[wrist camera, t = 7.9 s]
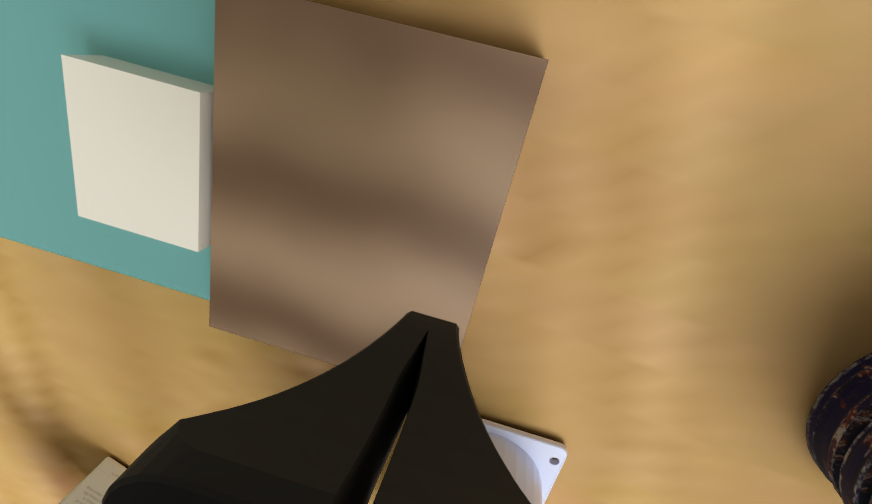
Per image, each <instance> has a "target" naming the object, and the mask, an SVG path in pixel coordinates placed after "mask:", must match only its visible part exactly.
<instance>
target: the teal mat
mask: <svg viewBox="0 0 872 504" xmlns="http://www.w3.org/2000/svg"><path fill="white" fill-rule="evenodd" d="M214 42H215V0H0V237H2V238H6V239H9V240H12V241H16V242H19V243H22V244H26V245H29V246H32V247H35V248H39V249H42V250H45V251H49V252H52V253H55V254H58V255H62V256H65V257H68V258H72V259H75V260H78V261H81V262H85V263H88V264H91V265H95V266H98V267H101V268H105V269H108V270H111V271H114V272H118V273H121V274H124V275H128V276H131V277H134V278H137V279H141V280H144V281H147V282H151V283H154V284H157V285H160V286H164V287H167V288H170V289H174V290H177V291H180V292H184V293H187V294H190V295H193V296H197V297H200V298H203V299H207V300H210V263H211V245H210V246H208V247H206V248H205V249H203V250H201V251H199V252H196V251H193V250H189V249H186V248H183V247H179V246H176V245H173V244H169V243H166V242H163V241H160V240H156V239H153V238H150V237H146V236H143V235H140V234H136V233H133V232H130V231H127V230H123V229H120V228H117V227H113V226H110V225H107V224H103V223H100V222H97V221H93V220H90V219H87V218H84V217H80V216H78V209H77V200H76V190H75V181H74V171H73V162H72V153H71V143H70V134H69V124H68V115H67V106H66V96H65V87H64V78H63V68H62V59H61V54H67V55H104V56H108V57H111V58H115V59H119V60H122V61H126V62H130V63H133V64H137V65H141V66H144V67H148V68H152V69H155V70H159V71H163V72H166V73H170V74H174V75H177V76H181V77H185V78H188V79H192V80H195V81H199V82H203V83H206V84H210V85H214Z"/></svg>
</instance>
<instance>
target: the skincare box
mask: <svg viewBox="0 0 872 504" xmlns="http://www.w3.org/2000/svg"><path fill="white" fill-rule="evenodd" d="M126 469H127V468H126V467H124V466H123V465H121V464H120V463H118V462H117V461H115V460H114V459H112V458H111V457H106V458H105V459H104V460H103V461H102V462H101V463H100V464H99V465H98V466H97V467H96V468H95V469H94V470H93V471H92V472H91V473H90V474H89V475H88V476H87V477H86V478H85V479H84V480H83V481H81V482H80V483H79V484H78V485H77V486H76V487H75V488H74V489H73V490H72V491H71V492H70V493H69V494H68V495H67V496H66V497H65V498H64V499H63V500H62V501H61V502H60V503H59V504H102V499H103V497H104V495H105V493H106V491H107V489H108V488H109V486H110V485H111V484H112V483H113V482H114V481H115V480H116V479H117V478H118V477H119V476H120V475H121V474H122V473H123V472H124V471H125V470H126Z"/></svg>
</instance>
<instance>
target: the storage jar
mask: <svg viewBox="0 0 872 504" xmlns="http://www.w3.org/2000/svg"><path fill="white" fill-rule="evenodd" d="M806 438H807V444H808V449H809V451H810V453H811V456H812V458H813V460H814V461H815V463H816V464H817V466H818V467H819V468H820V470H821V471H822V472H823V474H824V475H825V476H826V478H827V479H828V480H829V481H830V482H831V483H832V484H833V486H834V488H835V490H836V491H837V493H838V494H839V495H840V497H841V498H842V500H843V503H844V504H872V353H871V354H869V355H867V356H865V357H863V358H862V359H860V360H858V361H856V362H855V363H853V364H852V365H850V366H849V367H848V368H846V369H845V370H844V371H842V372H841V373H840V374H838V375H837V376H836V377H835V378H834V379H833V380H832V381H831V382H830V383H829V384H828V385H827V386H826V387H825V389H824V390H823V391H822V393H821V394H820V395H819V396H818V398H817V400H816V401H815V403H814V405H813V407H812V409H811V411H810V415H809V418H808V421H807V429H806Z"/></svg>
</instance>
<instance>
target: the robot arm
mask: <svg viewBox="0 0 872 504" xmlns="http://www.w3.org/2000/svg"><path fill="white" fill-rule="evenodd" d="M407 412H408V413H407ZM406 414H407V418H406V421H405V423H404V426H403V429H402V431H401V434H400V437H399V439H398V442H397V445H396V447H395V450H394V452H393V455H392V458H391V460H390V463H389V465H388V468H387V470H386V473H385V475H384V478H383V480H382V483H381V485H380V488H379V490H378V493H377V495H376V497H375V500H374V502H373V504H544V503H545V501H546V499H547V497H548V495H549V493H550V490H551V488H552V486H553V484H554V482H555V480H556V478H557V476H558V474H559V472H560V470H561V468H562V466H563V464H564V461H565V459H566V457H567V449H566V446H565V445H564V444H562V443H559V442H556V441H553V440H550V439H547V438H543V437H540V436H537V435H534V434H530V433H527V432H524V431H521V430H517V429H514V428H511V427H508V426H505V425H501V424H498V423H495V422H492V421H488V420H485V419H482V418H481V416H480V414H479V412H478V409H477V406H476V404H475V401H474V398H473V395H472V392H471V389H470V386H469V383H468V380H467V376H466V372H465V368H464V364H463V360H462V355H461V349H460V342H459V327H458V326H457V324H456V323H453V322H449V321H446V320H442V319H439V318H435V317H432V316H428V315H425V314H421V313H418V312H414V311H410V312H408V313H406V315H405V316H404V317H403V318H402V319H400V320H399V321H398V322H397V323H396V324H395V325H394V326H393V327H392V328H390V329H389V330H388V331H387V332H386V333H384V334H383V335H382V336H380V337H379V338H378V339H376V340H375V341H374V342H373V343H371V344H370V345H369V346H367V347H366V348H364V349H363V350H361V351H360V352H358V353H357V354H355V355H354V356H352V357H351V358H349V359H348V360H346V361H344V362H343V363H341V364H339V365H338V366H336V367H334V368H332V369H331V370H329V371H327V372H325V373H323V374H321V375H319V376H317V377H315V378H313V379H311V380H309V381H307V382H305V383H302V384H300V385H298V386H295V387H293V388H291V389H288V390H286V391H283V392H281V393H278V394H275V395H272V396H269V397H267V398H264V399H261V400H257V401H254V402H251V403H248V404H244V405H241V406H237V407H234V408H230V409H226V410H221V411H217V412H213V413H208V414H204V415H200V416H195V417H191V418H186V419H181V420H179V421H178V422H177V423H176V424H174V425H173V426H172V427H171V428H170V429H168V430H167V431H166V432H165V433H164V434H162V435H161V436H160V437H159V438H158V439H157V440H155V441H154V442H153V443H152V444H151V445H150V446H149V447H148V448H147V449H146V450H145V451H144V452H143V453H142V454H141V455H140V456H139V457H138V458H137V459H136V460H135V461H134V462H133V463H132V464H131V465H130V466H129V467H128V468H127V469H126V470H125V471H124V472H123V473H122V474H121V475H120V476H119V477H118V478H117V479H116V480H115V481H114V482H113V483H112V484H111V485H110V486H109V488H108V489H107V491H106V493H105V495H104V497H103V499H102V504H368V502H369V499H370V497H371V494H372V492H373V489H374V487H375V484H376V482H377V480H378V477H379V475H380V473H381V471H382V468H383V466H384V464H385V462H386V459H387V457H388V455H389V453H390V450H391V448H392V446H393V444H394V441H395V439H396V437H397V435H398V432H399V430H400V428H401V426H402V423H403V421H404V419H405V416H406ZM553 457H554V458H557V459H552V458H553Z"/></svg>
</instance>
